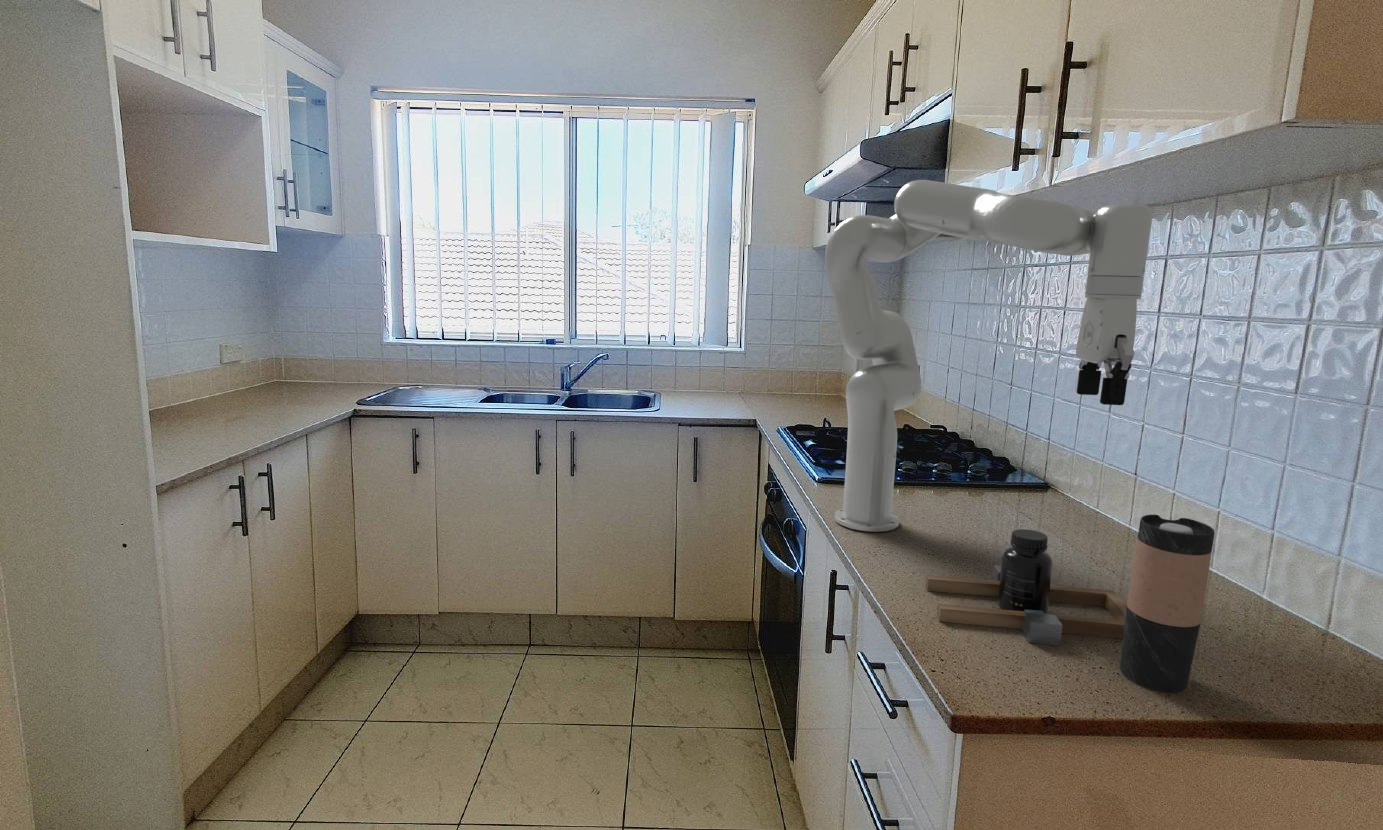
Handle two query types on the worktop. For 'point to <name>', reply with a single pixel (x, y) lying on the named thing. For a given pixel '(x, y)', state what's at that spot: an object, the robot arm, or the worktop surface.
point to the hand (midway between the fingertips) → (1098, 399)
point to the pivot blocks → (1037, 623)
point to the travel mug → (1165, 602)
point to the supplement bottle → (1025, 573)
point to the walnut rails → (1016, 617)
